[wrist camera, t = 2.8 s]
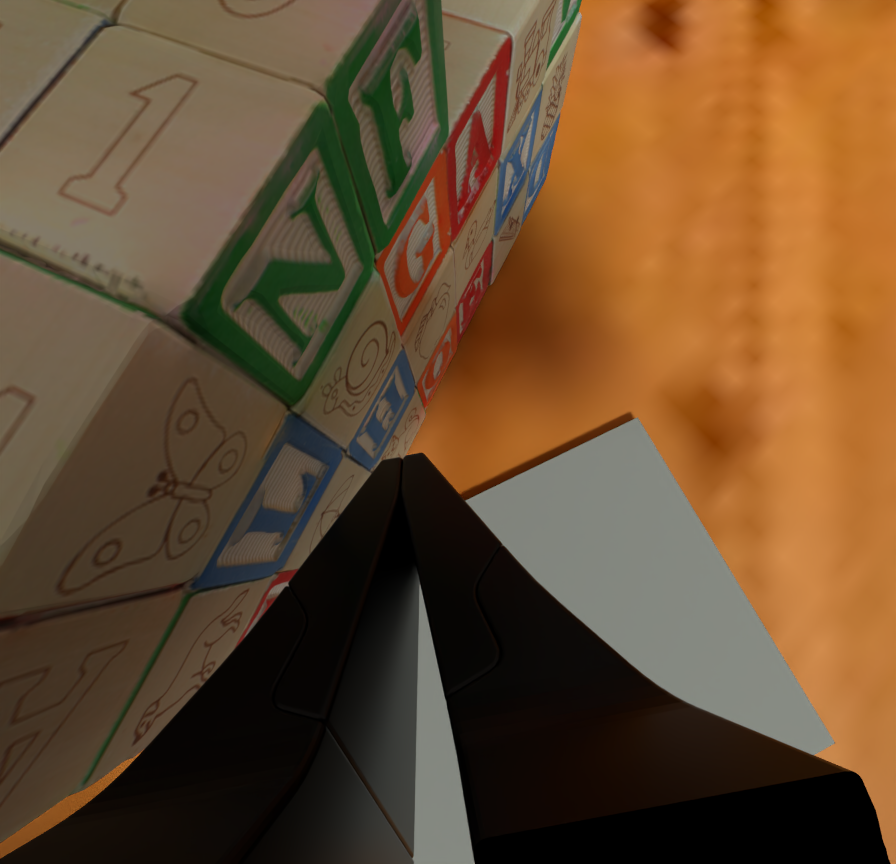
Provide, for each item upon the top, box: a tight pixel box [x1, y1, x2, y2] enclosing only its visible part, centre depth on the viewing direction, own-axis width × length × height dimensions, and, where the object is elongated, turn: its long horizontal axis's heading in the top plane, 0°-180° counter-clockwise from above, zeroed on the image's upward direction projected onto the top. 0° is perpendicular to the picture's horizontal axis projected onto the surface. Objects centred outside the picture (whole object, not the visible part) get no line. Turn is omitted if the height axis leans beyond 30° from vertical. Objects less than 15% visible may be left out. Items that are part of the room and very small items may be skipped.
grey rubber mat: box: [412, 417, 835, 864], centre depth 14 cm, size 12×14×1 cm
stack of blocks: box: [0, 0, 582, 843], centre depth 11 cm, size 21×6×12 cm, turn 154°
